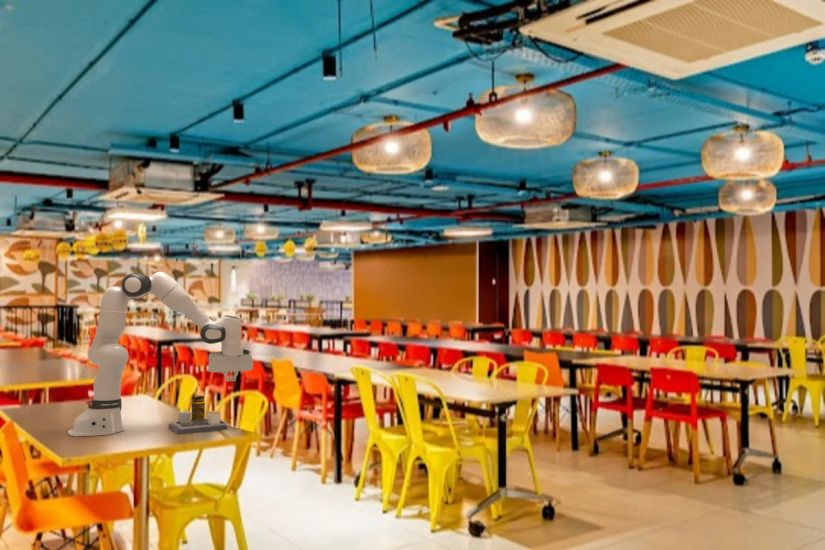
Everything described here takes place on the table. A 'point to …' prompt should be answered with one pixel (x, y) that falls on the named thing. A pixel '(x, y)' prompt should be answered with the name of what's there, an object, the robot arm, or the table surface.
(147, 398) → the table surface
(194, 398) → the condiment
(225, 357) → the robot arm
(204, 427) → the grey tray
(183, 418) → the block
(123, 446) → the table surface
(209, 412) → the fader
